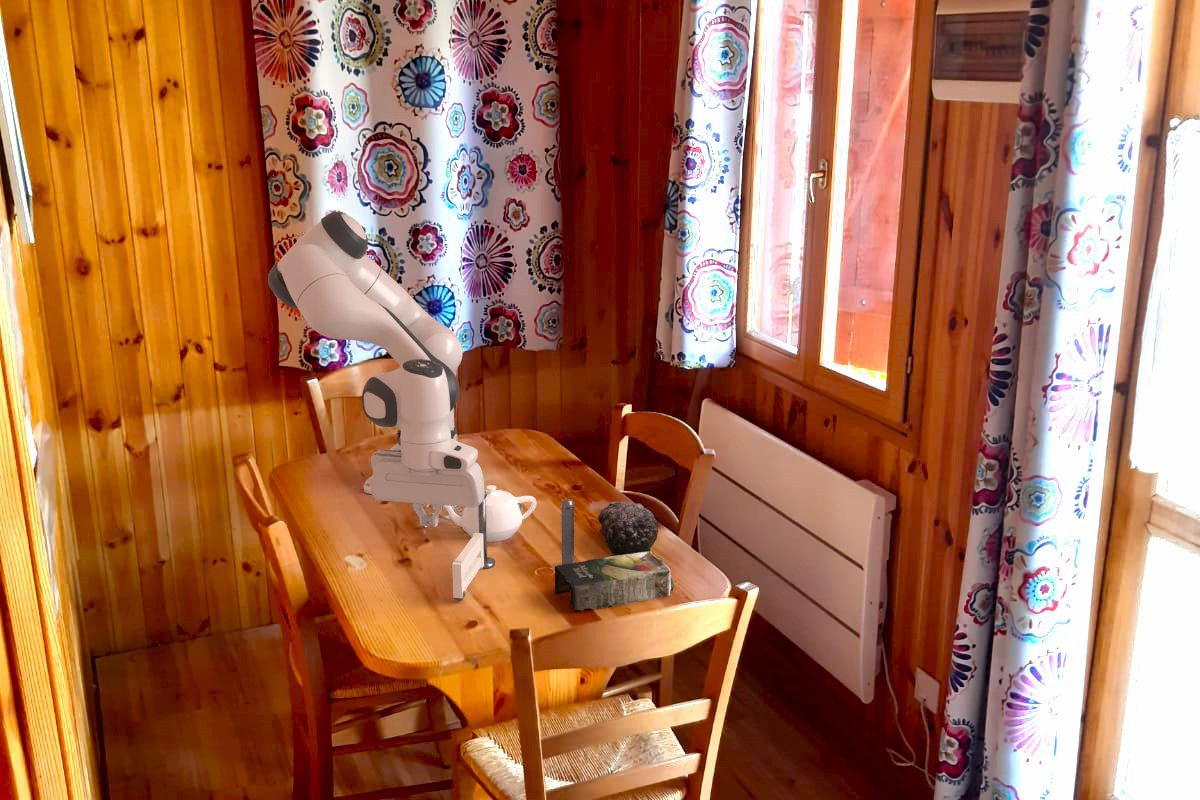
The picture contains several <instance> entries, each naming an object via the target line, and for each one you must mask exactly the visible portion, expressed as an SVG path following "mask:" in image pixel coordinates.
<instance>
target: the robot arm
mask: <svg viewBox="0 0 1200 800" xmlns="http://www.w3.org/2000/svg"><path fill="white" fill-rule="evenodd" d="M368 249H369V238H368V236H367V234H366V232H365V230H364V228H363V227H362V224H360V223H359V222H358V221H357V220H356V219H355V218H354V217H352V216H350V215H349V214H347V213H345V212H343V211H337V210H336V211H334V210H333V211H332V212H330V213H328V214H327V215H325V216H323V217H322V218H320V221H319V222H317V223H316V224H315V225H313V226H312V227H311V228H309V229H308V230H307V231H306V232H305V233H303V235H301V236H300V237H299V238H298V239H297V241H296V242H295V243H294V244H293V245H292V246H291V247H290V248H289V249H288V250H287V252H285V253H284V255H283V256H282V257H281V259H280V260H279V261H278V262H275V263H274V265H273V266H272V267H271V268H270V270H269V273H268V275H267V276H268V277H267V283H268V286H269V289H270V290H271V292H272V293H273V294H274V296H275V297H276V298H277V299H278V301H280V302H282V303H283V304H284V305H286V306H287V307H289V308H290V309H295V310H297V309H298V311H299V313H300V314H301V315H302V317H303V319H304V320H305V322H306V323H307V324H308V325H309V326H310V327H311V328H312V329H313V330H314V331H315V332H317V333H318V334H320V335H322V337H323V336H324V337H326V338H329V339H334V340H349V341H356V342H363V343H369V344H372V345H375V346H377V347H380V348H381V349H383V350H385V351H386V352H387V353H388V354H389V356H391V358H392V359H393V360H394V361H395V362H396V363H397V364H398V365H399V367H398V368H396V369H394V370H390V371H388V372H382V373H379V374H376V375H374V376H371V377H370V378H368V380H367V381H366V382H365V384H364V387H363V389H362V394H361V404H362V410H363V412H364V415H365V416H366V418H368V419H369V420H370V421H371V422H372V423H373V424H375V425H376V426H378V427H380V428H381V427H382V428H398V430H397V431H396V433H395V434H394V436H395V437H394V439H395V440H397V443H395V444H394V445H393V446H392V447H391V448H389V449H385V448H380V449H378V450H376V451H374V452H373V453H372V454H371V457H370V463H371V466H370V467H371V469H372V475H371V476H369V477H368V478H367V479H366V481H365V482H364V483H363V489H364V490H363V492H364V493H365V494H370V495H372V497H373V498H374V499H375V500H376V501H385V502H386V501H387V502H399V503H411V504H412V509H413V511H414V512H415V513H416V515H417V516H418V518H419V526H420V527H421V526H422V527H423V526H424V527H432V528H433V527H434V528H436V527H437V526H439V515H440V514H441V512H442V511H443V508H444V505H447V506H451V507H462V508H463V507H464V508H465V507H472V508H476V507H477V506H478V505H479V504H480V503H481V502H482V501H483V499H484V496H485V490H486V489H485V482H484V474H483V471H482V468H481V466H480V464H479V463H478V462H476V461H477V459H478V457H479V452H478V449H477V448H475V447H473V446H471V445H467V444H465V443H462V442H460V441H458V433H457V432H458V430H457V425H456V424H455V406H456V404H457V402H458V400H459V395H460V384H459V380H458V378H457V375H458V374H457V373H458V368H459V366H460V365H461V362H462V360H463V354H464V353H463V346H462V344H461V342H460V340H459V338H458V336H457V335H456V333H455V332H454V331H453V330H452V329H451V328H449V327H447V326H445V325H444V324H443V323H441V322H439V321H438V320H437V319H436V318H434V317H432V316H431V315H430V314H429V313H428V312H427V311H426V310H424V309H423V308H422V307H421V306H420V304H418V302H416V299H414V298H413V297H412V296H411V295H410V294H409V292H407V290H405V289H404V288H403V287H402V286H401V285H400V284H399V283H398V282H397V281H396V280H395V279H394V278H393V277H392V276H390V275H389V273H387V272H386V271H385V270H384V269H383V268H382V267H381V266H380V265H378V264H377V263H376V262H375V261H374V260H373V259H371V257H369V256H368V255H366V252H367V250H368ZM425 504H426V505H432V510H435V511H434V512H433V513H431V514H430V513H427V512H426V510H425V509H424V507H423V506H424V505H425Z"/></svg>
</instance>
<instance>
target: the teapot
mask: <svg viewBox="0 0 1200 800" xmlns="http://www.w3.org/2000/svg"><path fill="white" fill-rule="evenodd" d="M484 490H485V491H486V493H487V497H486V498H485V501H486V536H487V543H490V542H491V543H493V542H500V541H505V540H507V539H510V538H511V537H513V536H514V534H515V533H517V531H519V529H520V528H521V526H522V523H523V520H525V519H527V518H528V517H529V516H530V515H532V513H533V512H534V511H535V510H536V507H537V499H536V498H535V497H534V496H532V495H523V496H514V495H513V494H512V493H511V492H509V491H506V490H504V489H503V490H502V489H497V486H496V485H492V484H489V485H487V486H485V489H484ZM526 502H527V503H528V502H531V504H530V507H529V508H528V509H527V510H526V511H525V512H524V513H523V514H522V511H521V509H520V506H519V504H521V503H526ZM443 508H444V509H445V510H446V511H447V513H448V516H449V518H450V519H451V520H452V522H453V523H454V524H455V525H456V526H459V527H462V528H463V531H465V532H466V533H467V534H468V535H469V536H470V537H471V538H472V536H473V535H474V533H479V517H478V506H477V507H476V508H472V507H464V508H463V511H462V513H461V515H459V514H457V513H456V512H455V510H454V509H453V506H447V505H444V507H443Z"/></svg>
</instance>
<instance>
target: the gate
mask: <svg viewBox="0 0 1200 800" xmlns="http://www.w3.org/2000/svg"><path fill="white" fill-rule="evenodd" d="M451 565H452V566H451V567H452V568H451V569H452V590H453V591H452V597H453V599H454V600H455V601H457V602H460V601H463V600H464V598H465V596H466V592H465V591H466V590H467V588H468V587H469V585H470V583H471V582H472V581H473V579H474V578H475V576H476V575H477V574H478V572H479V570H483V569H482V568H483V566H484V546H483V533H474V535H473V536H472V537H471V538H470V539H469V541H468V542H467V544H466V545H465V547H464V548H463V550H462V551H461V552H460V554H459V555H458V556H457V557H456V558H455V560H454V561H453V563H451Z"/></svg>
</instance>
